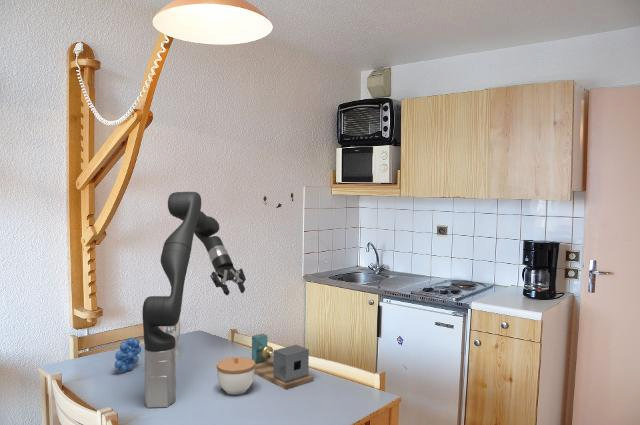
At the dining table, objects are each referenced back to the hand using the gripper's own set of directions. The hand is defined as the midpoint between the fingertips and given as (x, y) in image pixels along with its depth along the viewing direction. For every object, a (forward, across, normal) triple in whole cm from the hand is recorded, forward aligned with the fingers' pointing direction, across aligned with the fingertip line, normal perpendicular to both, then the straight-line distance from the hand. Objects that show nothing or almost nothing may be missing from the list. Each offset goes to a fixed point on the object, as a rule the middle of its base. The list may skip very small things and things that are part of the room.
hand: (235, 292), depth 193 cm
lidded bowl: (+37, -15, +1) cm, 40 cm away
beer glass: (+4, -17, +34) cm, 38 cm away
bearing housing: (+39, +4, -4) cm, 40 cm away
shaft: (+31, +4, +4) cm, 31 cm away
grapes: (+8, -37, +30) cm, 48 cm away
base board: (+35, +4, +2) cm, 35 cm away
